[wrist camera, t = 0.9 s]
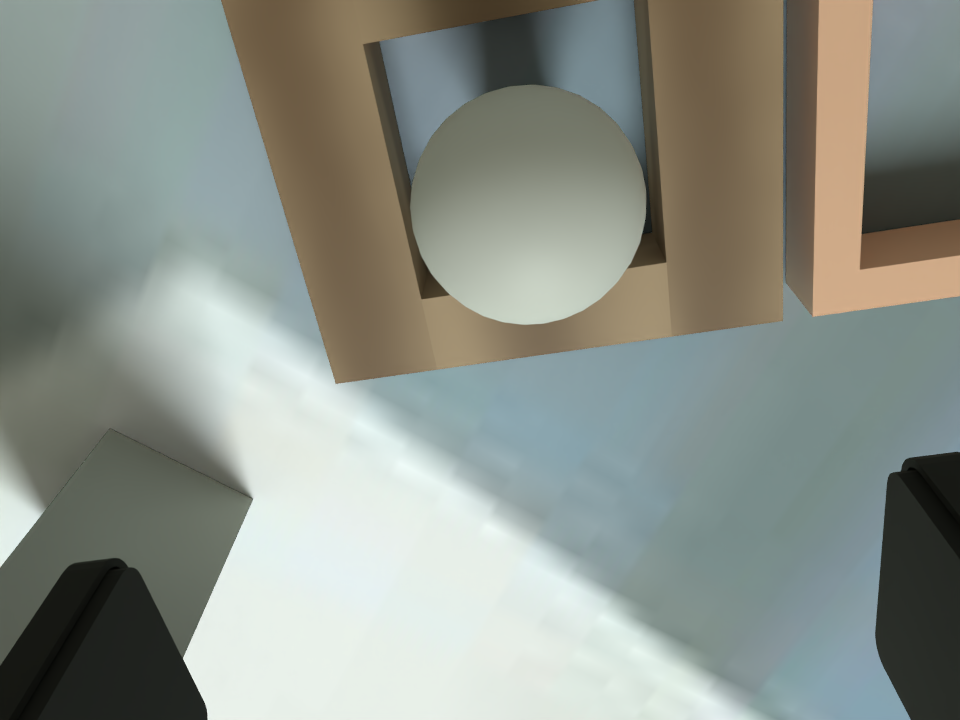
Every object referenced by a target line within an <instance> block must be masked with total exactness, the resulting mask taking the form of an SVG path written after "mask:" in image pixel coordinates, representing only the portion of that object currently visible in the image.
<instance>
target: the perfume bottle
mask: <svg viewBox="0 0 960 720" xmlns="http://www.w3.org/2000/svg"><path fill="white" fill-rule="evenodd" d="M252 500H253V499H252V498H250V497H248V496H246V495H244V494H242V493H240V492H238V491H236V490H234V489H232V488H230V487H227V486H225V485H223V484H221V483H219V482H217V481H215V480H213V479H211V478H209V477H207V476H205V475H203V474H201V473H199V472H197V471H195V470H193V469H191V468H189V467H187V466H185V465H183V464H181V463H179V462H177V461H175V460H173V459H171V458H169V457H167V456H165V455H163V454H161V453H159V452H157V451H154V450H152V449H150V448H148V447H146V446H144V445H142V444H140V443H138V442H136V441H134V440H132V439H130V438H128V437H126V436H124V435H122V434H120V433H118V432H116V431H114V430H112V429H109V430H108V432H107V433H106V434H105V435H104V437H103V438H102V439H101V440H100V442H99V443H98V444H97V446H96V447H95V448H94V449H93V451H92V452H91V453H90V454H89V456H88V457H87V458H86V460H85V461H84V462H83V463H82V465H81V466H80V467H79V468H78V470H77V471H76V472H75V473H74V475H73V476H72V477H71V479H70V480H69V481H68V482H67V484H66V485H65V486H64V487H63V489H62V490H61V491H60V493H59V494H58V495H57V496H56V498H55V499H54V500H53V501H52V503H51V504H50V505H49V506H48V508H47V509H46V510H45V512H44V513H43V514H42V515H41V517H40V518H39V519H38V520H37V522H36V523H35V524H34V525H33V527H32V528H31V529H30V531H29V532H28V533H27V534H26V536H25V537H24V538H23V539H22V541H21V542H20V543H19V545H18V546H17V547H16V548H15V550H14V551H13V552H12V553H11V555H10V556H9V557H8V558H7V560H6V561H5V562H4V564H3V565H2V566H1V567H0V665H1V664H2V662H3V661H4V659H5V658H6V656H7V655H8V653H9V652H10V650H11V649H12V647H13V646H14V644H15V643H16V641H17V640H18V638H19V637H20V635H21V634H22V632H23V631H24V629H25V628H26V627H27V625H28V624H29V622H30V621H31V619H32V618H33V616H34V615H35V613H36V612H37V610H38V609H39V607H40V606H41V604H42V603H43V601H44V600H45V598H46V597H47V595H48V594H49V592H50V591H51V589H52V588H53V586H54V585H55V583H56V582H57V580H58V579H59V577H60V576H61V574H62V573H63V572H64V570H65V569H66V568H67V567H68V566H69V565H71V564H73V563H77V562H85V561H93V560H101V559H109V558H120V559H121V560H123V561H124V562H125V563H126V564H127V566H128V567H132V568H135V569H137V570H138V571H139V573H140V574H141V576H142V578H143V580H144V582H145V584H146V586H147V588H148V590H149V592H150V594H151V596H152V598H153V600H154V602H155V604H156V606H157V608H158V610H159V612H160V614H161V616H162V618H163V620H164V622H165V624H166V626H167V628H168V630H169V632H170V634H171V636H172V638H173V640H174V642H175V644H176V646H177V648H178V650H179V652H180V654H181V656H182V658H183V657H184V654H185V652H186V650H187V648H188V645H189V643H190V641H191V639H192V636H193V634H194V632H195V630H196V627H197V625H198V623H199V620H200V618H201V616H202V614H203V611H204V609H205V607H206V605H207V602H208V600H209V598H210V596H211V593H212V591H213V589H214V586H215V584H216V582H217V580H218V577H219V575H220V573H221V571H222V568H223V566H224V564H225V562H226V559H227V557H228V555H229V553H230V550H231V548H232V546H233V543H234V541H235V539H236V537H237V534H238V532H239V530H240V528H241V525H242V523H243V521H244V519H245V516H246V514H247V512H248V509H249V507H250V505H251V503H252Z"/></svg>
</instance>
